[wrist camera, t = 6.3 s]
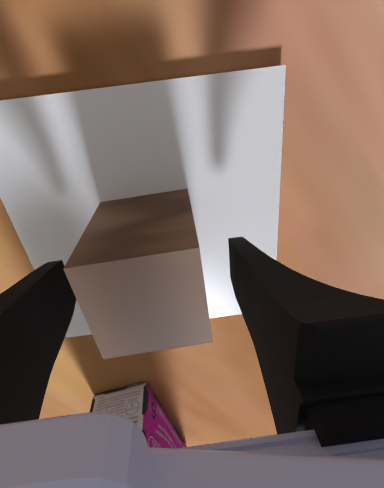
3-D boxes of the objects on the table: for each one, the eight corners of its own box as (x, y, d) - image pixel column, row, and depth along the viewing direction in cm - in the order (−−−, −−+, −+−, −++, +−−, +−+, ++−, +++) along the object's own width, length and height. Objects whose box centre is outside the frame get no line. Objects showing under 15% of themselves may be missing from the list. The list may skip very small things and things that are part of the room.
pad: (280, 65, 13) (285, 64, 12) (271, 303, 20) (273, 309, 19) (-35, 104, 12) (-43, 105, 12) (68, 331, 19) (66, 337, 19)
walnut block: (187, 188, 14) (199, 247, 9) (198, 261, 17) (212, 342, 12) (100, 201, 14) (63, 268, 9) (122, 273, 17) (103, 359, 11)
